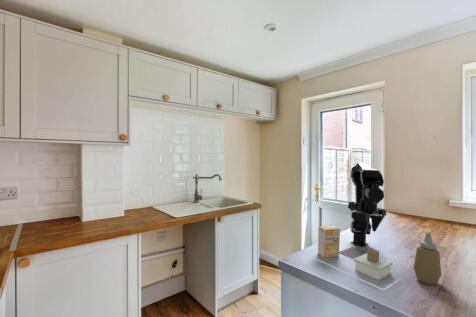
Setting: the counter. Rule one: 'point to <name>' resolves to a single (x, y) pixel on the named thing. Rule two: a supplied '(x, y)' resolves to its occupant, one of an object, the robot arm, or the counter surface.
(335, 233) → the supplement box
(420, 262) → the squeeze bottle
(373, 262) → the lid
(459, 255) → the counter surface
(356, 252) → the mat
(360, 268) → the white box
